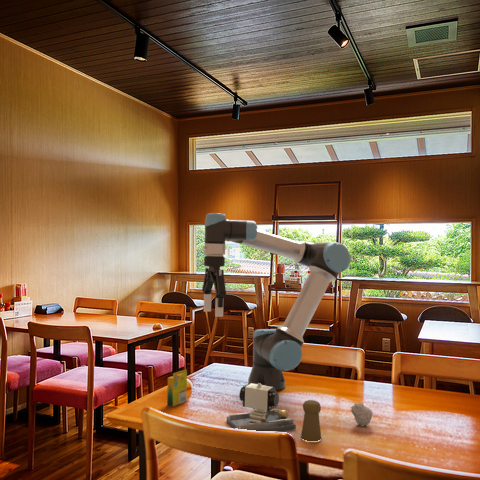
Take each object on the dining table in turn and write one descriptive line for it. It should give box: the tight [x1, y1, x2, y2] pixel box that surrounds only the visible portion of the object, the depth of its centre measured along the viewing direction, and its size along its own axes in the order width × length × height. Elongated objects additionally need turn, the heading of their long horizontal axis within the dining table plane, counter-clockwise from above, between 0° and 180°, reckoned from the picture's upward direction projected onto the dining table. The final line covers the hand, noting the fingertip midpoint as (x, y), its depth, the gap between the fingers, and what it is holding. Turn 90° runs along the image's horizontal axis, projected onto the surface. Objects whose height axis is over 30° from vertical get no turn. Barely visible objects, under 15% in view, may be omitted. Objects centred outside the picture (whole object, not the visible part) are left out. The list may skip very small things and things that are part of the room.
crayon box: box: [166, 369, 188, 408], centre depth 161 cm, size 7×3×12 cm, turn 145°
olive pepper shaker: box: [300, 399, 322, 441], centre depth 133 cm, size 6×6×11 cm
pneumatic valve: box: [238, 383, 280, 423], centre depth 141 cm, size 6×12×12 cm, turn 64°
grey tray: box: [226, 408, 297, 432], centre depth 142 cm, size 18×13×4 cm
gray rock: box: [350, 402, 374, 426], centre depth 144 cm, size 6×7×7 cm
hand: (213, 314), depth 164 cm, fingers open, 13 cm apart
